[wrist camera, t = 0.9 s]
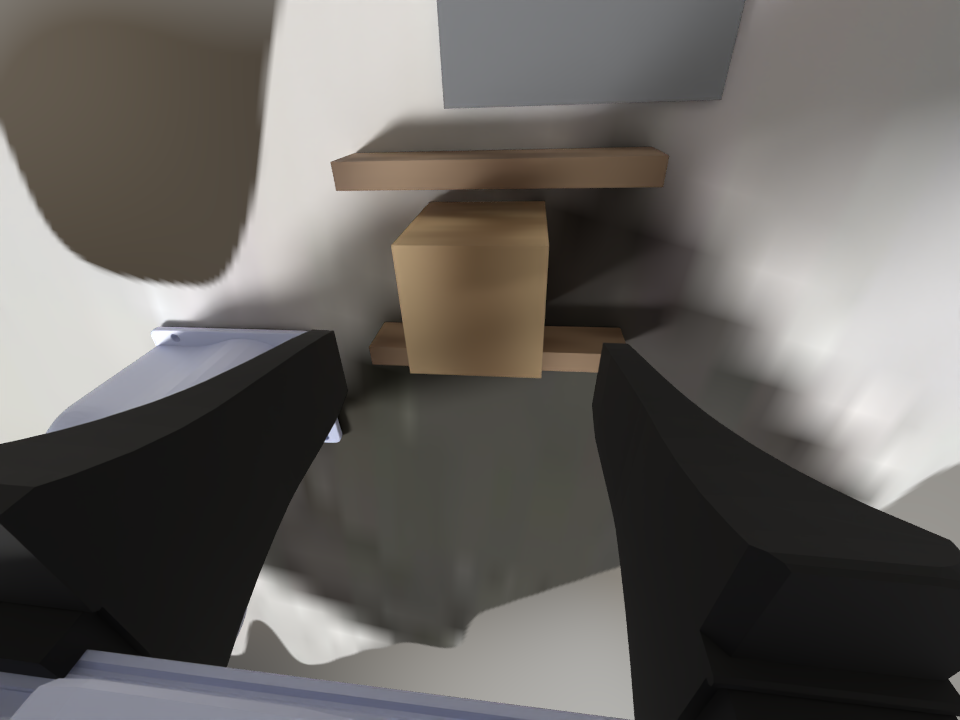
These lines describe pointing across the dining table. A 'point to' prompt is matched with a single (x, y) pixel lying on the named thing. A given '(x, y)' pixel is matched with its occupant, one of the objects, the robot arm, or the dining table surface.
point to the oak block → (474, 288)
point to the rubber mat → (584, 51)
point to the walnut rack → (506, 171)
